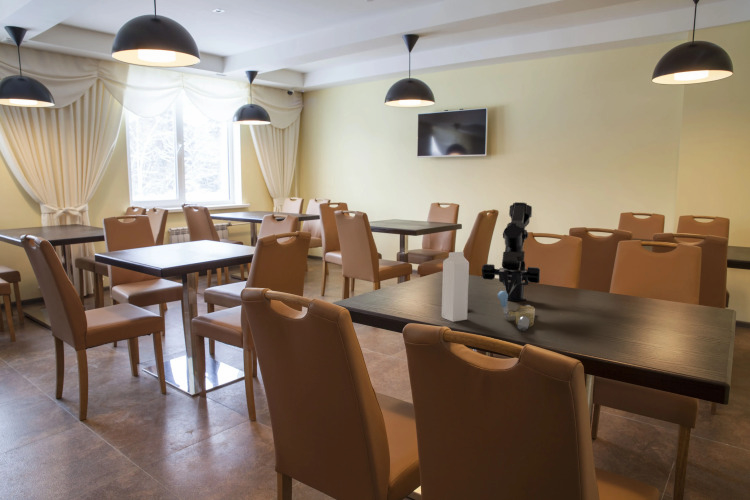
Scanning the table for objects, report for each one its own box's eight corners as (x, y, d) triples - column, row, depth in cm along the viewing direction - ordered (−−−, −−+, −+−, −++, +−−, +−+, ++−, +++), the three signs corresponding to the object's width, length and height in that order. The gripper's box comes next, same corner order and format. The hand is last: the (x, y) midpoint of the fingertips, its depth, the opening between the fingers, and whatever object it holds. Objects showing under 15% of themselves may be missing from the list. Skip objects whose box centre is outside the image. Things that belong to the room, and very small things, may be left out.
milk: (467, 319, 163) (470, 252, 160) (452, 322, 160) (455, 253, 157) (455, 315, 168) (458, 250, 165) (440, 317, 165) (443, 251, 162)
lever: (502, 309, 164) (497, 288, 149) (511, 309, 163) (508, 289, 148) (501, 317, 163) (496, 298, 148) (510, 318, 162) (507, 299, 147)
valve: (512, 312, 172) (512, 300, 172) (535, 314, 170) (536, 302, 169) (505, 329, 152) (505, 315, 151) (531, 332, 149) (532, 318, 149)
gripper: (483, 240, 169) (477, 278, 161) (541, 243, 163) (537, 283, 154) (486, 259, 178) (480, 297, 169) (541, 263, 171) (537, 302, 163)
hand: (508, 294), depth 164 cm, fingers closed
